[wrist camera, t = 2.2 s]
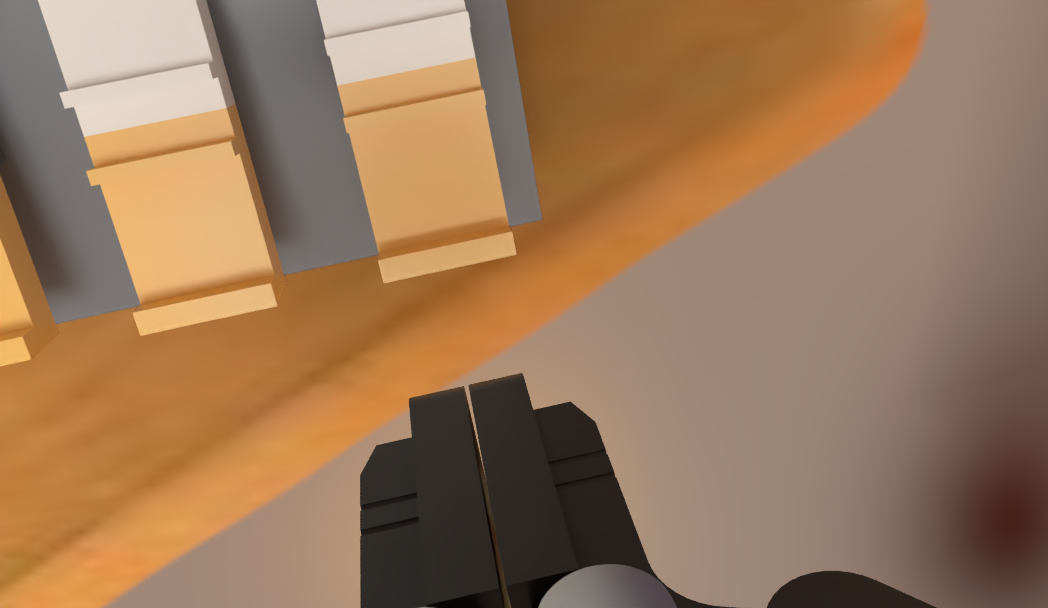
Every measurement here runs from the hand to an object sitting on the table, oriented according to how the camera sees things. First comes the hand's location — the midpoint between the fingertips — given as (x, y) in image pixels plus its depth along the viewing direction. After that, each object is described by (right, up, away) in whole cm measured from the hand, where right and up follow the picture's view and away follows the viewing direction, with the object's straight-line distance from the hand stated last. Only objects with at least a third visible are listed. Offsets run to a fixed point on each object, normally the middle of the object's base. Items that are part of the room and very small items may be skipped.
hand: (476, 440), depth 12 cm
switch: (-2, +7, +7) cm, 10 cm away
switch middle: (-7, +6, +7) cm, 11 cm away
